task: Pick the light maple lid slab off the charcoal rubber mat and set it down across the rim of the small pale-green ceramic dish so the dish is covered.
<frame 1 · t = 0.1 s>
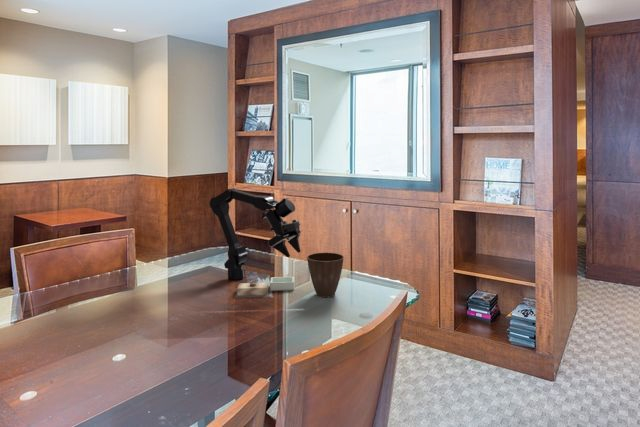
hand: (294, 254, 202), 15 cm above the table, tool tilted 30°, fingers open, 9 cm apart
mat: (253, 293, 197), on the table
lid: (253, 292, 197), point 1 cm above the table, touching mat
dish: (282, 288, 204), on the table
plant pot: (325, 294, 196), on the table
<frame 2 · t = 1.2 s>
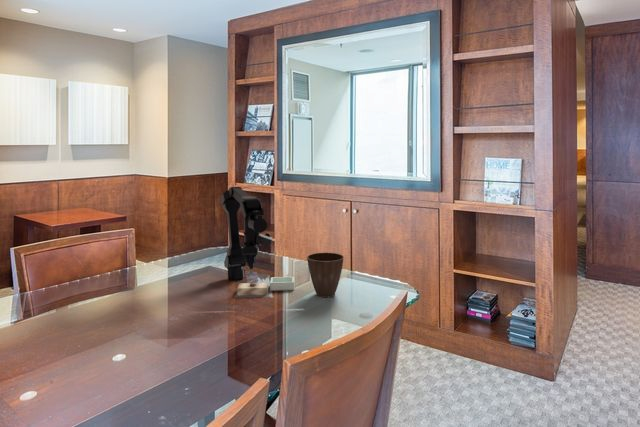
hand: (252, 266, 196), 12 cm above the table, tool pointing down, fingers open, 9 cm apart
nothing on the table moved.
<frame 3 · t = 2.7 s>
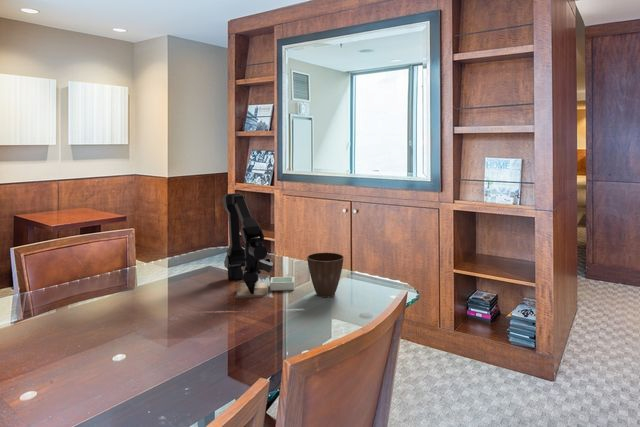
hand: (253, 291, 197), 1 cm above the table, tool pointing down, fingers closed on lid, 7 cm apart
lid: (253, 292, 197), point 1 cm above the table, touching gripper, mat
everything else where it was.
when the fingers open (6 cm above the table, at t = 6.1 s): lid drops 1 cm, resting on dish.
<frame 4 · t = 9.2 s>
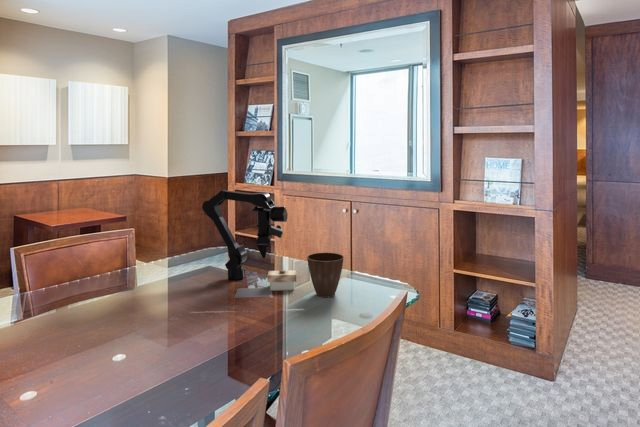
hand: (264, 255, 213), 12 cm above the table, tool pointing down, fingers open, 9 cm apart
lid: (282, 279, 203), point 4 cm above the table, touching dish
everything else where it was.
at the end: lid 0.1 cm off-centre on the dish, point 4.0 cm above the dish's base; lid tilted 0°; the gripper is holding nothing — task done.
